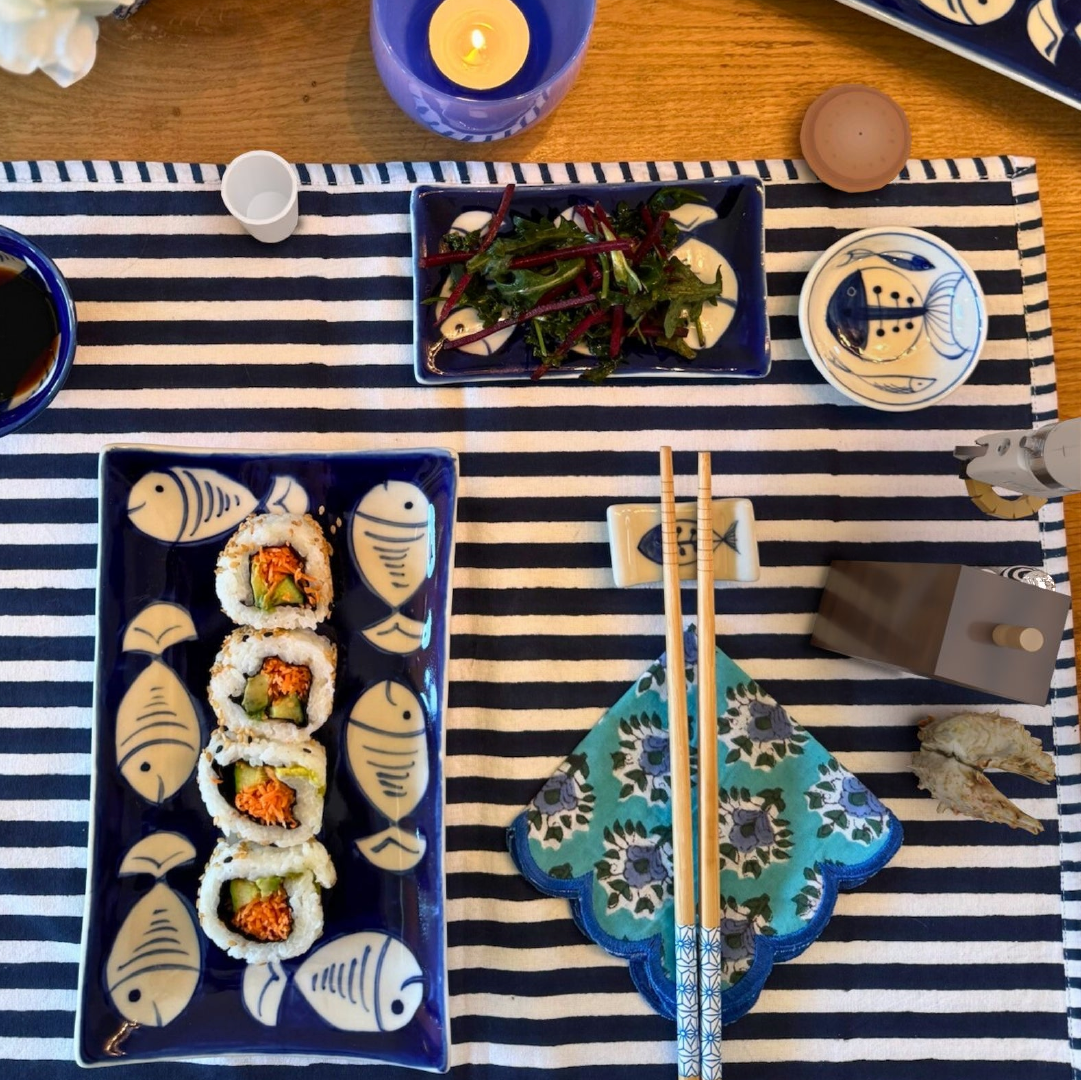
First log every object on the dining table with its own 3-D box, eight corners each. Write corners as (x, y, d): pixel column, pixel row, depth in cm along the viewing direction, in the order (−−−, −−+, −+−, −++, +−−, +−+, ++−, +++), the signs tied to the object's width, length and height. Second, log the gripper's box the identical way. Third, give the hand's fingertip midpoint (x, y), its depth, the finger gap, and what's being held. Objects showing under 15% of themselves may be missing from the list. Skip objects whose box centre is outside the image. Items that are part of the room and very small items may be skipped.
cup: (222, 215, 147) (204, 184, 134) (274, 169, 148) (261, 134, 135) (269, 266, 147) (256, 240, 134) (321, 220, 147) (313, 190, 134)
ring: (1051, 452, 128) (1061, 451, 126) (1033, 527, 127) (1042, 527, 125) (975, 430, 129) (984, 428, 127) (956, 505, 128) (964, 504, 126)
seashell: (1072, 865, 123) (1114, 749, 126) (933, 788, 124) (979, 676, 128) (985, 847, 140) (1025, 746, 144) (865, 780, 142) (907, 681, 145)
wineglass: (994, 613, 144) (1047, 619, 132) (957, 593, 144) (1006, 597, 132) (1013, 577, 144) (1068, 580, 132) (976, 556, 144) (1027, 557, 132)
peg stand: (915, 584, 144) (1103, 599, 105) (893, 669, 143) (1075, 715, 104) (831, 560, 144) (988, 565, 105) (809, 644, 143) (959, 680, 104)
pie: (884, 213, 148) (901, 202, 143) (778, 183, 148) (791, 171, 143) (911, 112, 149) (928, 96, 144) (806, 82, 149) (820, 66, 144)
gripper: (985, 468, 110) (904, 481, 128) (1135, 512, 109) (1032, 518, 128) (1002, 400, 110) (919, 423, 129) (1151, 443, 110) (1047, 460, 128)
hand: (976, 470), depth 128 cm, fingers closed on ring, 2 cm apart
